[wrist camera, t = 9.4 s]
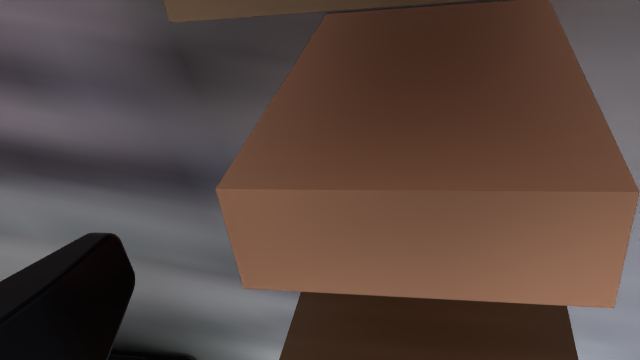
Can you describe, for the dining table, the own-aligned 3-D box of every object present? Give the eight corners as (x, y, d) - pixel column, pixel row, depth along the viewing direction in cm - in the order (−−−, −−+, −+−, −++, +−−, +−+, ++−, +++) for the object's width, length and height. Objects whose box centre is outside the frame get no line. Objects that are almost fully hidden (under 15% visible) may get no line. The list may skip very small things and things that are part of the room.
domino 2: (529, 211, 17) (576, 482, 10) (351, 208, 18) (288, 445, 12) (534, 155, 16) (590, 416, 9) (344, 157, 17) (270, 385, 10)
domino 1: (541, 74, 15) (613, 308, 8) (334, 82, 16) (242, 288, 9) (547, -3, 14) (639, 191, 7) (326, 14, 15) (215, 189, 8)
